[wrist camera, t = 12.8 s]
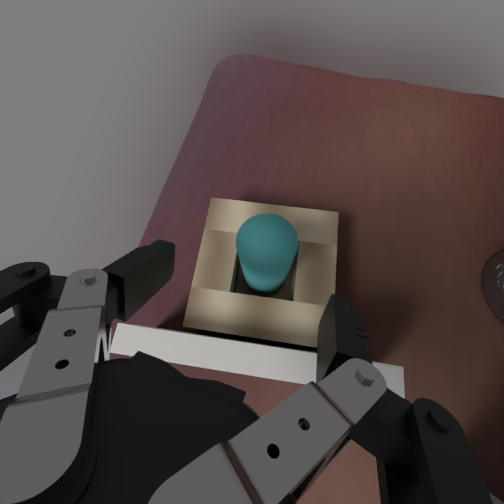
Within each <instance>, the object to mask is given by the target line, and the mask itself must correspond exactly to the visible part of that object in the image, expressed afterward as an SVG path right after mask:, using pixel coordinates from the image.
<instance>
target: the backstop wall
mask: <svg viewBox="0 0 504 504" xmlns="http://www.w3.org/2000/svg"><path fill="white" fill-rule="evenodd" d="M137 351H141V352H143V353H146V354H149V355H151V356H154V357H156V358H159V359H162V360H164V361H166V362H172V363H178V364H184V365H190V366H196V367H202V368H208V369H214V370H220V371H227V372H233V373H239V374H245V375H251V376H257V377H263V378H269V379H275V380H282V381H288V382H294V383H300V384H307V383H309V382H311V381H314V382H315V383H316V366H317V352H313V351H307V350H300V349H294V348H287V347H281V346H274V345H268V344H261V343H255V342H248V341H241V340H235V339H228V338H222V337H215V336H209V335H202V334H196V333H189V332H183V331H176V330H170V329H163V328H157V327H148V326H140V325H131V324H122V323H118V325H117V328H116V331H115V335H114V338H113V341H112V345H111V348H110V352H111V353H117V354H123V355H129V356H134V355H135V354H136V353H137ZM372 363H373V366H375V367H376V368H377V369H378V370H379V371H380V372H381V374H382V375H383V377H384V378H385V381H386V384H387V387H388V388H389V389H390V390H391V391H393V392H394V393H396V394H398V395H399V396H401V397H402V398H404V399H405V395H404V371H403V367H401V366H396V365H391V364H386V363H381V362H375V361H372Z"/></svg>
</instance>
